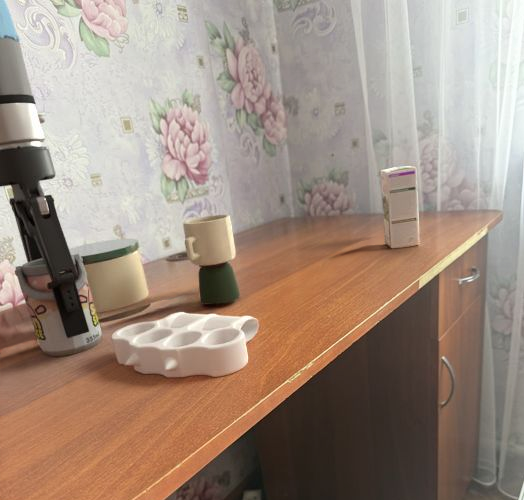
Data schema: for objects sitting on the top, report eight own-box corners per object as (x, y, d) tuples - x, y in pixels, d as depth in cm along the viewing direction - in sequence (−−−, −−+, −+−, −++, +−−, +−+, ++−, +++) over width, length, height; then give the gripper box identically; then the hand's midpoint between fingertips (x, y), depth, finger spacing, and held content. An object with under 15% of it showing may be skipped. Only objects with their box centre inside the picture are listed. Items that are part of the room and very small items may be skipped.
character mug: (223, 291, 85) (209, 213, 80) (258, 292, 81) (246, 210, 76) (181, 312, 76) (163, 227, 72) (218, 315, 73) (202, 225, 68)
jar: (63, 314, 85) (45, 253, 82) (135, 293, 92) (121, 236, 88) (85, 330, 75) (65, 261, 71) (165, 305, 81) (150, 241, 78)
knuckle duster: (282, 337, 61) (213, 392, 50) (170, 328, 70) (90, 373, 59) (279, 311, 60) (207, 361, 48) (165, 305, 69) (83, 346, 57)
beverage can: (110, 348, 66) (86, 258, 61) (44, 366, 63) (13, 274, 58) (99, 330, 74) (77, 250, 69) (40, 346, 71) (12, 263, 66)
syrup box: (420, 245, 96) (419, 165, 91) (389, 249, 97) (386, 170, 91) (412, 239, 102) (410, 164, 96) (383, 243, 102) (379, 169, 96)
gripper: (70, 135, 52) (122, 335, 60) (29, 151, 69) (74, 305, 78) (-8, 144, 48) (59, 355, 57) (-31, 158, 66) (23, 319, 74)
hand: (68, 326), depth 67 cm, fingers closed on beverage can, 9 cm apart
